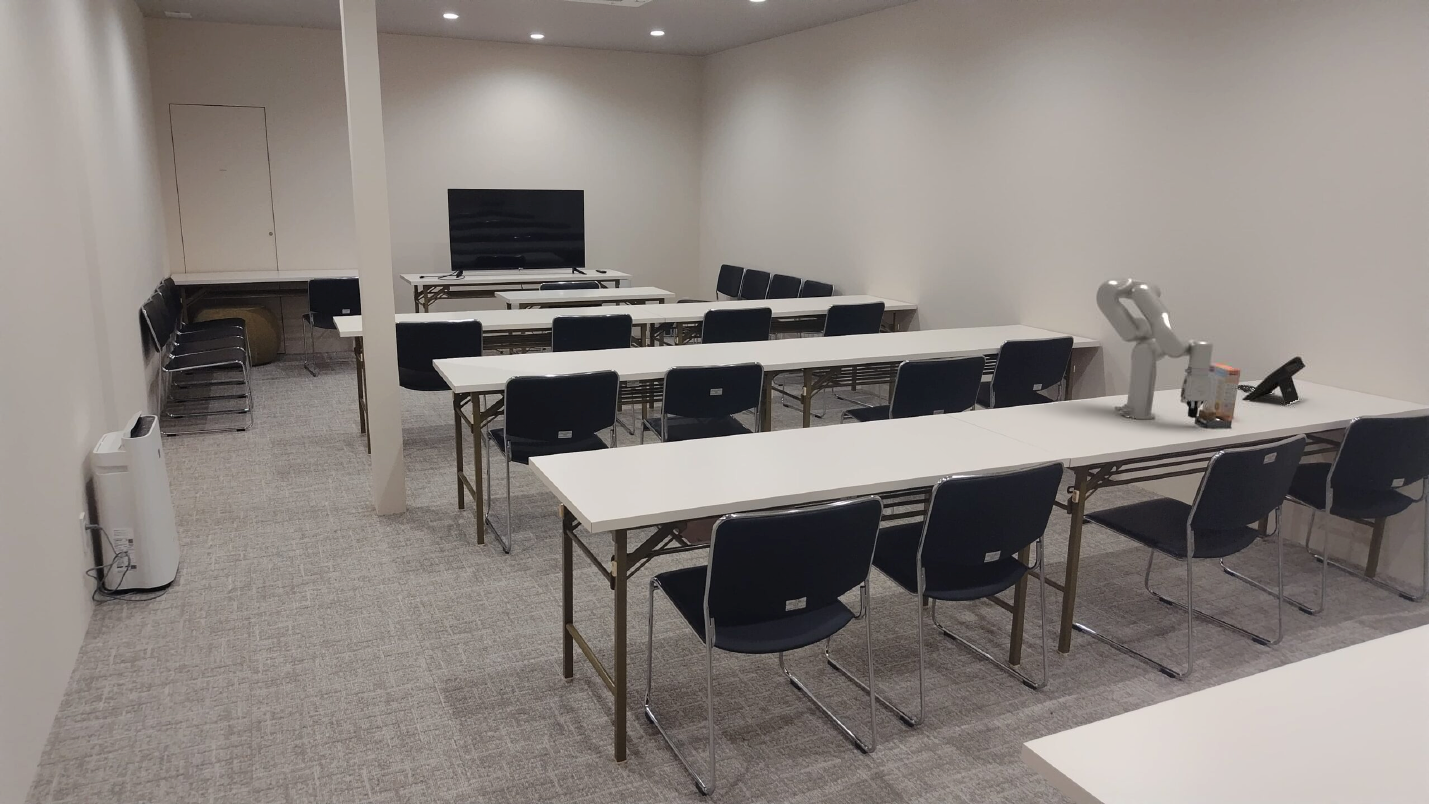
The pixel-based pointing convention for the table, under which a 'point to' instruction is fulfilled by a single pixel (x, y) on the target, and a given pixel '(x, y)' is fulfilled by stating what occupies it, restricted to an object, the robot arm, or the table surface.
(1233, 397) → the cracker box
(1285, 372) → the office phone
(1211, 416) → the slab
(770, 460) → the table surface
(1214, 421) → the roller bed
